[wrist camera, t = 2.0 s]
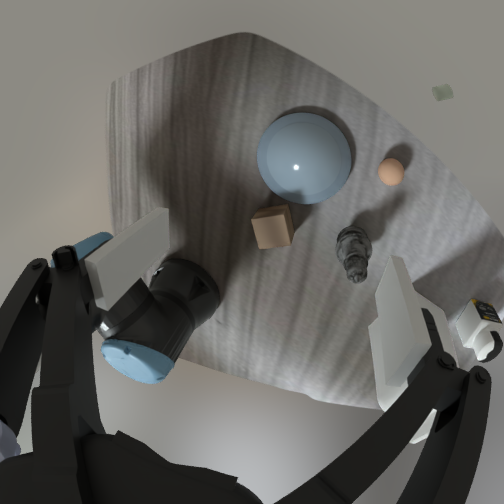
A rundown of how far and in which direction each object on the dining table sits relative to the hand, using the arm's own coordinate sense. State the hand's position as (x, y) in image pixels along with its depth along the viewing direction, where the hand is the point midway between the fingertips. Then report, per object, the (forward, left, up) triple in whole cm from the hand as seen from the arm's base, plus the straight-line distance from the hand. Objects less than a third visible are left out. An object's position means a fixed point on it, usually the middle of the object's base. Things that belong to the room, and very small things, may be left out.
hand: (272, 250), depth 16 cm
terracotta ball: (+12, +1, -27) cm, 30 cm away
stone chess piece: (+9, -12, -29) cm, 33 cm away
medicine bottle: (+41, -22, -29) cm, 55 cm away
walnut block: (-4, -11, -29) cm, 31 cm away
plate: (-1, 0, -29) cm, 29 cm away
